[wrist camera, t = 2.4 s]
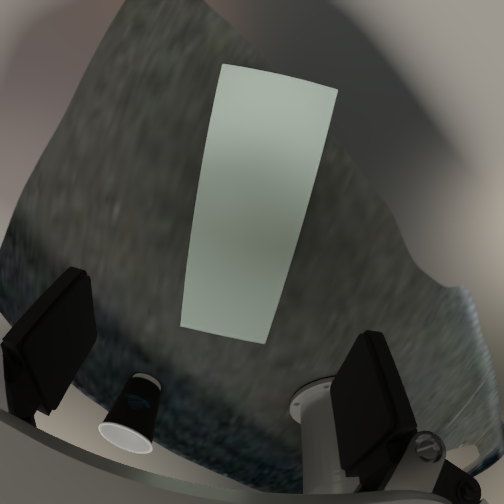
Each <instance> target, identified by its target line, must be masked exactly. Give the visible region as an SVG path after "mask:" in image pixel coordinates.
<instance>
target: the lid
mask: <svg viewBox="0 0 504 504" xmlns="http://www.w3.org/2000/svg"><path fill="white" fill-rule="evenodd" d="M337 92H338V90H337V89H334V88H330V87H327V86H324V85H320V84H316V83H313V82H309V81H305V80H302V79H298V78H293V77H289V76H285V75H281V74H276V73H272V72H267V71H262V70H257V69H251V68H246V67H240V66H234V65H227V64H222V68H221V72H220V77H219V81H218V86H217V90H216V95H215V99H214V104H213V109H212V114H211V119H210V124H209V129H208V134H207V139H206V145H205V150H204V156H203V161H202V167H201V173H200V179H199V185H198V191H197V197H196V203H195V210H194V217H193V223H192V231H191V238H190V245H189V253H188V261H187V269H186V277H185V286H184V295H183V304H182V314H181V325H180V326H182V327H186V328H191V329H195V330H199V331H204V332H208V333H213V334H217V335H222V336H226V337H231V338H236V339H241V340H246V341H251V342H257V343H262V344H265V342H266V339H267V336H268V333H269V330H270V327H271V324H272V321H273V318H274V315H275V312H276V309H277V306H278V303H279V299H280V296H281V293H282V290H283V287H284V284H285V280H286V277H287V274H288V271H289V267H290V264H291V261H292V257H293V254H294V251H295V247H296V244H297V241H298V237H299V234H300V231H301V227H302V224H303V220H304V217H305V213H306V210H307V206H308V203H309V199H310V196H311V192H312V188H313V185H314V181H315V178H316V174H317V170H318V166H319V163H320V159H321V155H322V151H323V148H324V144H325V140H326V136H327V132H328V128H329V124H330V120H331V116H332V112H333V108H334V104H335V100H336V95H337Z"/></svg>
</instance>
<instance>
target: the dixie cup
mask: <svg viewBox="0 0 504 504" xmlns="http://www.w3.org/2000/svg"><path fill="white" fill-rule="evenodd" d="M160 390H161V386H160V383H159V382H158V381H157V380H156V379H155V378H153V377H151V376H149V375H147V374H143V373H137V374H135V375H133V377H132V378H130V379H129V381H128V382H127V384H126V385H125V387H124V389H123V390H122V392H121V393H120V395H119V397H118V398H117V400H116V401H115V403H114V405H113V406H112V408H111V410H110V411H109V413H108V414H107V416H106V418H105V419H104V421H103V422H102V423H100V424H99V426H98V429H99V432H100V433H101V435H102V436H103V437H104V438H105V439H107V440H108V441H109V442H111V443H112V444H114V445H116V446H117V447H120V448H122V449H124V450H127V451H130V452H134V453H140V454H145V453H150V452H151V451H152V450H153V445H152V441H153V435H154V429H155V424H156V418H157V413H158V407H159V402H160V397H161V391H160Z"/></svg>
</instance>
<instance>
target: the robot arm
mask: <svg viewBox="0 0 504 504" xmlns="http://www.w3.org/2000/svg"><path fill="white" fill-rule="evenodd" d="M96 338H97V330H96V323H95V316H94V308H93V299H92V289H91V279H90V277H89V276H87V273H86V271H85V270H82V269H78V268H75V267H69V268H68V269H67V270H66V271H65V272H64V273H63V274H62V275H61V276H60V277H59V278H58V279H57V280H56V281H55V282H54V283H53V284H52V285H51V286H50V287H49V288H48V289H47V290H46V291H45V292H44V293H43V294H42V295H41V296H40V297H39V298H38V300H37V301H36V302H35V303H34V304H33V305H32V306H31V307H30V308H29V309H28V310H27V311H26V313H25V314H24V315H23V316H22V317H21V318H20V319H19V320H18V321H17V323H16V324H15V325H14V326H13V327H12V328H11V330H10V331H9V332H8V333H7V334H6V336H5V337H4V338H3V342H2V343H1V344H0V504H488V503H487V501H486V500H485V499H482V500H480V498H481V488H480V485H479V483H478V482H477V480H476V479H474V478H473V477H472V476H470V475H469V474H467V473H466V472H464V471H463V470H461V469H460V468H458V467H457V466H455V465H454V464H452V463H451V462H449V461H448V460H446V459H445V457H446V447H445V444H444V442H443V440H442V439H441V438H440V437H439V436H438V435H437V434H436V433H434V432H431V431H426V430H423V431H419V432H417V428H416V427H417V424H416V421H415V418H414V415H413V412H412V409H411V406H410V403H409V400H408V397H407V395H406V392H405V389H404V386H403V384H402V381H401V378H400V376H399V373H398V370H397V368H396V365H395V362H394V360H393V357H392V355H391V352H390V350H389V347H388V345H387V342H386V340H385V338H384V335H383V334H382V333H381V332H377V331H369V330H366V331H365V332H364V333H363V334H360V335H359V336H358V337H357V339H356V341H355V343H354V345H353V346H352V348H351V350H350V352H349V354H348V355H347V357H346V359H345V361H344V362H343V364H342V366H341V368H340V369H339V371H338V373H337V374H336V376H335V377H330V378H325V379H321V380H318V381H315V382H312V383H310V384H308V385H306V386H304V387H303V388H301V389H300V390H299V391H297V392H296V393H295V394H294V395H293V397H292V399H291V401H290V404H289V411H290V415H291V416H292V418H293V419H294V420H295V421H296V422H298V423H300V424H301V438H302V459H303V484H304V494H278V493H263V492H252V491H243V490H234V489H227V488H220V487H214V486H208V485H202V484H197V483H192V482H187V481H183V480H178V479H173V478H169V477H165V476H162V475H158V474H154V473H150V472H147V471H143V470H140V469H137V468H134V467H130V466H127V465H124V464H121V463H118V462H115V461H112V460H110V459H107V458H104V457H101V456H99V455H96V454H94V453H91V452H89V451H86V450H84V449H81V448H79V447H77V446H74V445H72V444H70V443H68V442H65V441H63V440H61V439H59V438H57V437H55V436H52V435H50V434H48V433H46V432H44V431H42V430H40V429H38V428H37V427H36V423H35V419H34V414H35V412H36V411H37V410H38V411H40V412H42V413H44V414H46V415H48V416H49V414H50V412H51V411H52V410H56V408H57V407H58V405H59V404H60V402H61V400H62V398H63V396H64V394H65V393H66V391H67V389H68V387H69V386H70V384H71V382H72V380H73V379H74V377H75V375H76V373H77V372H78V370H79V368H80V367H81V365H82V363H83V362H84V360H85V358H86V357H87V355H88V353H89V352H90V350H91V348H92V347H93V345H94V343H95V341H96Z"/></svg>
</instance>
